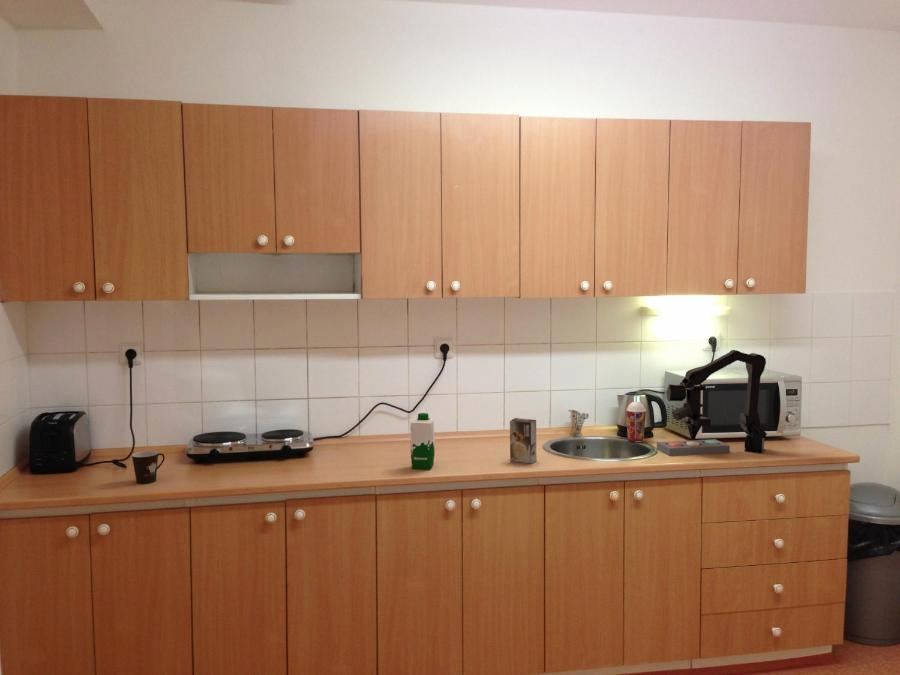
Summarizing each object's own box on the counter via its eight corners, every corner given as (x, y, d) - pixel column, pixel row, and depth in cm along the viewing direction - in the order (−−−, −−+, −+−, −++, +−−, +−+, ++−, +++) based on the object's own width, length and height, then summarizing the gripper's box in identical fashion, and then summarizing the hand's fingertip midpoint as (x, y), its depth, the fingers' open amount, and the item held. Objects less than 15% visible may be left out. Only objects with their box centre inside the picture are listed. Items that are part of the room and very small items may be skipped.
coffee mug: (136, 486, 245) (134, 458, 244) (130, 480, 252) (129, 453, 251) (171, 480, 252) (169, 453, 251) (164, 475, 259) (163, 448, 258)
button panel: (729, 452, 284) (729, 445, 284) (669, 455, 280) (669, 448, 280) (715, 446, 295) (715, 439, 295) (656, 449, 291) (656, 442, 291)
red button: (683, 450, 284) (683, 444, 284) (671, 450, 283) (671, 445, 283) (677, 447, 289) (677, 442, 289) (665, 447, 288) (665, 442, 288)
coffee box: (537, 460, 276) (537, 419, 274) (531, 463, 270) (531, 422, 269) (515, 457, 280) (515, 417, 279) (509, 461, 274) (509, 420, 273)
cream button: (701, 449, 286) (701, 444, 285) (690, 449, 285) (690, 444, 285) (695, 446, 290) (695, 441, 290) (684, 447, 290) (684, 441, 289)
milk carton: (436, 464, 270) (435, 413, 269) (432, 470, 261) (431, 417, 260) (413, 463, 272) (413, 412, 270) (409, 470, 263) (408, 417, 261)
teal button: (719, 448, 287) (720, 443, 287) (708, 449, 286) (708, 443, 286) (713, 445, 292) (713, 440, 292) (702, 446, 291) (702, 440, 291)
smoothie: (646, 443, 301) (647, 397, 300) (626, 442, 303) (627, 396, 301) (644, 438, 310) (645, 393, 308) (624, 438, 311) (625, 393, 309)
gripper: (664, 397, 294) (663, 434, 295) (686, 405, 275) (685, 445, 277) (689, 396, 296) (688, 433, 297) (712, 404, 277) (711, 443, 279)
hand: (692, 438), depth 287 cm, fingers closed
